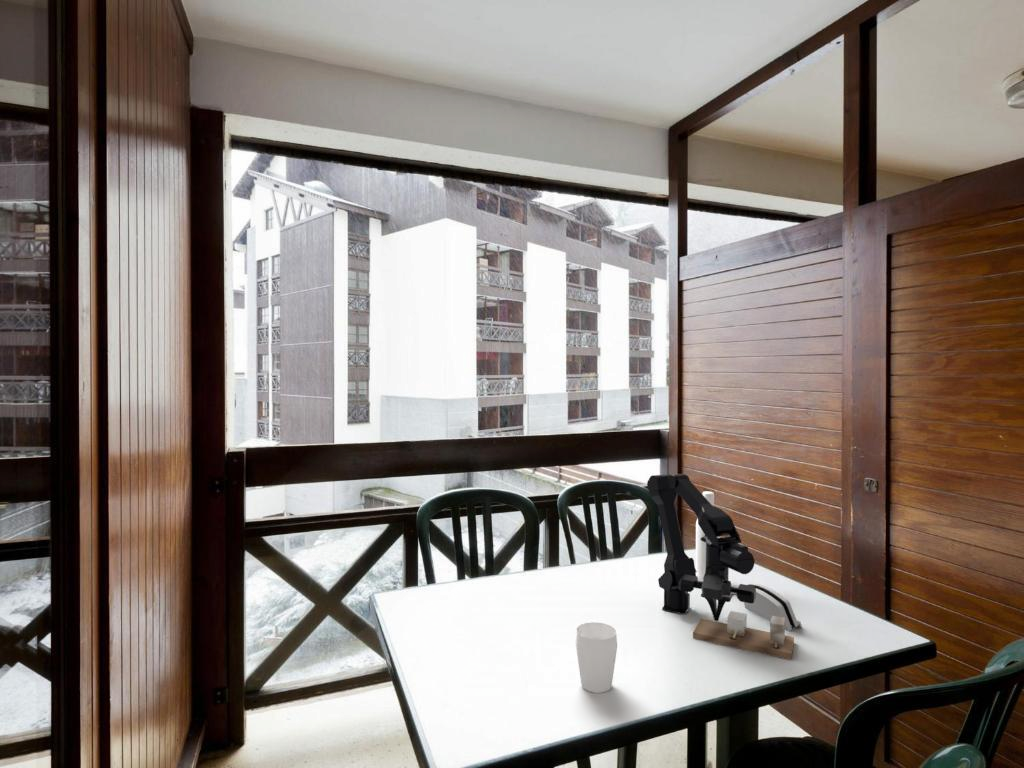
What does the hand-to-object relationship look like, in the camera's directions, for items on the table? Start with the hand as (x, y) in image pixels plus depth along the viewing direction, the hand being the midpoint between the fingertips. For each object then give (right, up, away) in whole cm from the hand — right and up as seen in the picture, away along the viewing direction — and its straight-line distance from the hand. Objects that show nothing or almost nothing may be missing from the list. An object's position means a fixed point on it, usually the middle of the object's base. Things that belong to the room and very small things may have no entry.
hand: (716, 620), depth 151 cm
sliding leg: (+4, -2, -4) cm, 6 cm away
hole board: (+5, -3, -4) cm, 8 cm away
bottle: (+11, -3, +38) cm, 39 cm away
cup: (-36, -4, -26) cm, 44 cm away
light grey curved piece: (+18, -4, +10) cm, 21 cm away
